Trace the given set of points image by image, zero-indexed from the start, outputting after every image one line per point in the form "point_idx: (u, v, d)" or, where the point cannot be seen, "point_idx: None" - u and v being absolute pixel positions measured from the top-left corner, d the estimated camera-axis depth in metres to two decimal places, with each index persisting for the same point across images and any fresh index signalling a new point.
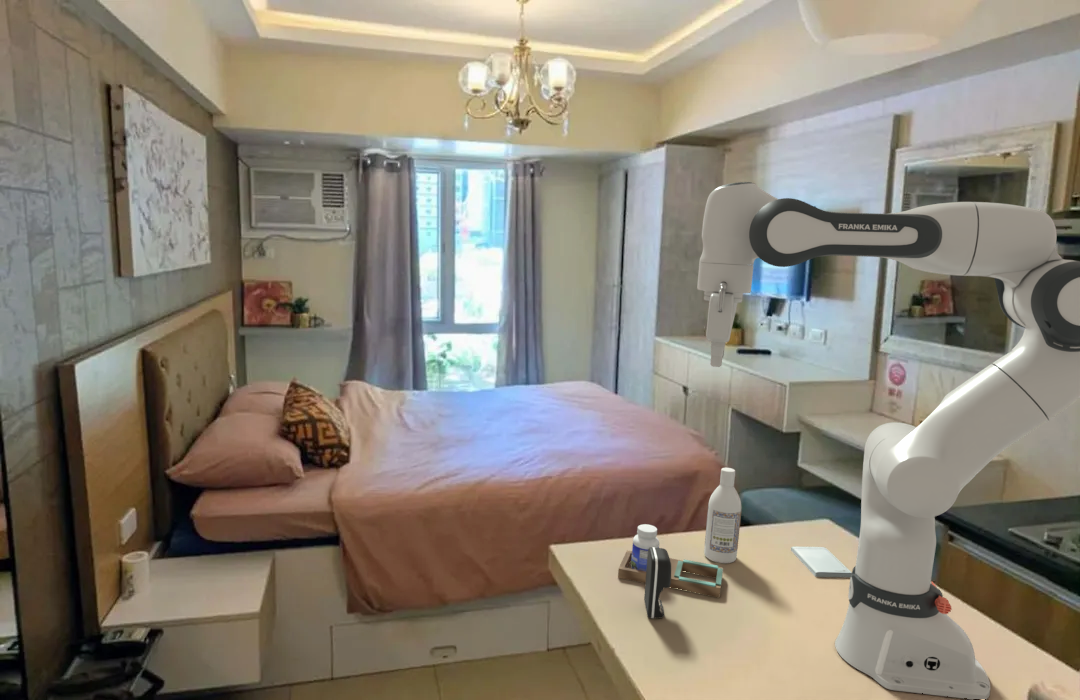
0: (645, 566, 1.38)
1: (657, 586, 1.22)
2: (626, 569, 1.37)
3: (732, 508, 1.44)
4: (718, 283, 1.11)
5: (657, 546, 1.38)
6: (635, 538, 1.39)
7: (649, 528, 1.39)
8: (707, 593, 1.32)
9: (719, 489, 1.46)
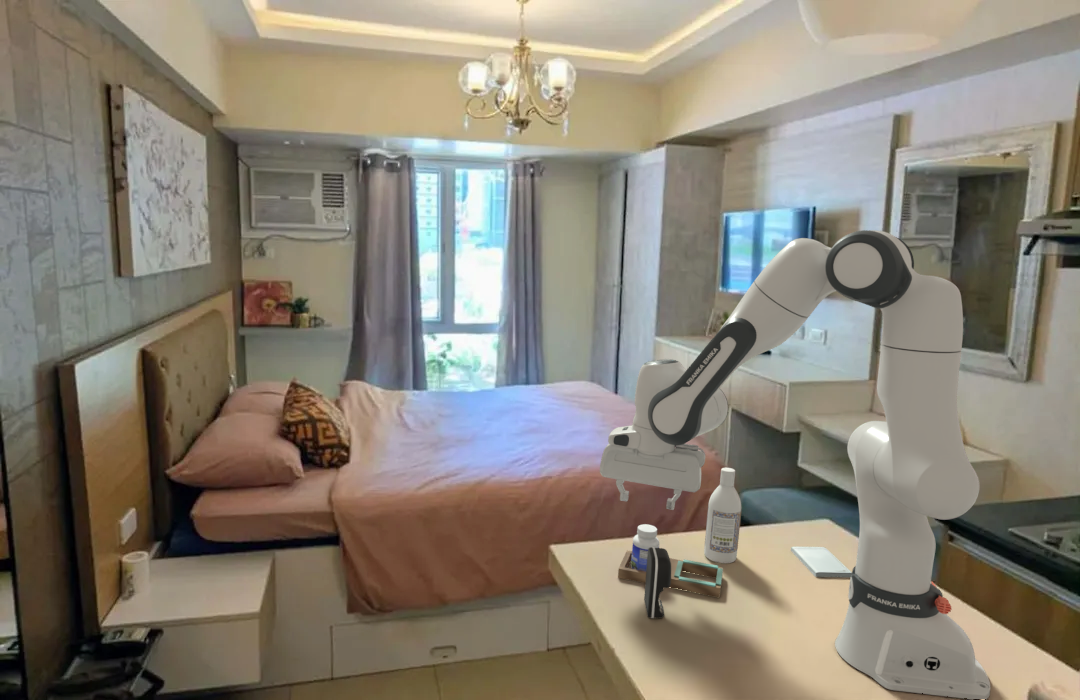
0: (645, 566, 1.38)
1: (657, 586, 1.22)
2: (626, 569, 1.37)
3: (732, 508, 1.44)
4: None
5: (657, 546, 1.38)
6: (635, 538, 1.39)
7: (649, 528, 1.39)
8: (707, 593, 1.32)
9: (719, 489, 1.46)
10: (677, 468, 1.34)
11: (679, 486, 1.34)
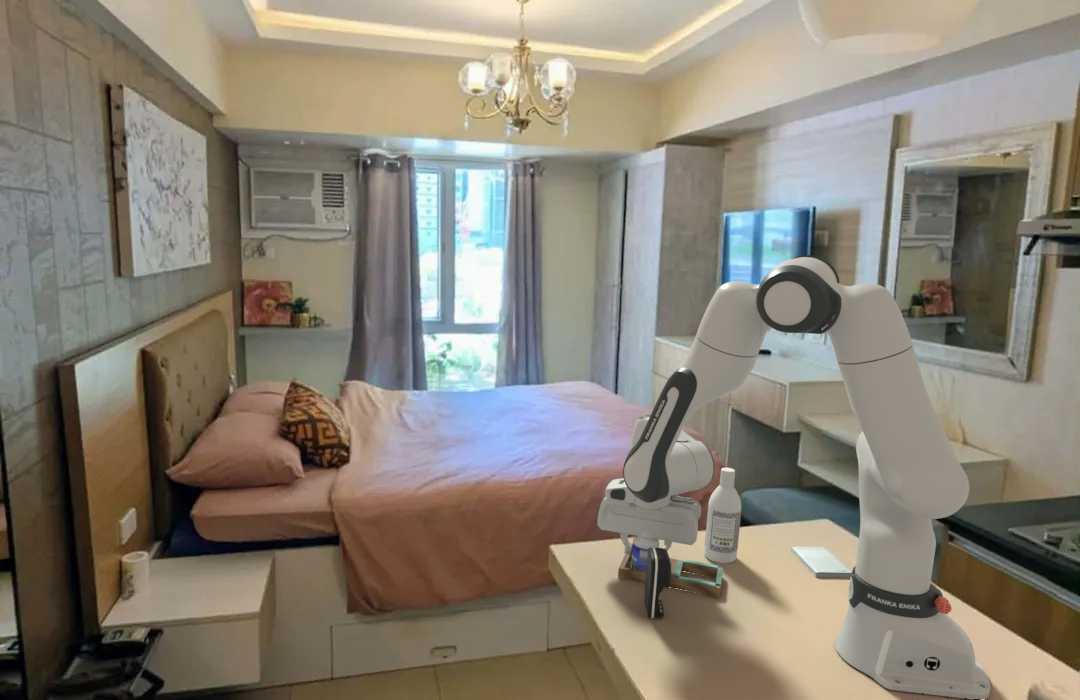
0: (645, 566, 1.38)
1: (657, 586, 1.22)
2: (626, 569, 1.37)
3: (732, 508, 1.44)
4: (670, 497, 1.36)
5: (657, 546, 1.38)
6: (635, 538, 1.39)
7: None
8: (707, 593, 1.32)
9: (719, 489, 1.46)
10: (673, 521, 1.36)
11: (676, 539, 1.36)
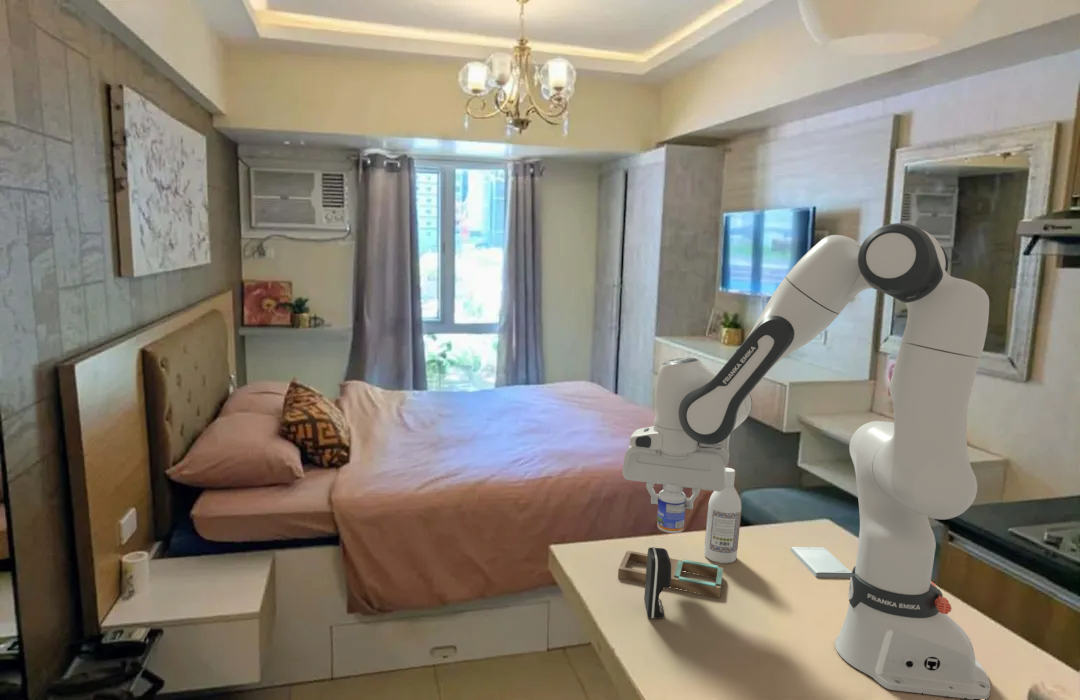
0: (672, 521, 1.34)
1: (657, 586, 1.22)
2: (626, 569, 1.37)
3: (732, 508, 1.44)
4: (697, 443, 1.32)
5: (684, 500, 1.35)
6: (661, 493, 1.36)
7: None
8: (707, 593, 1.32)
9: None
10: (701, 467, 1.32)
11: (704, 486, 1.32)
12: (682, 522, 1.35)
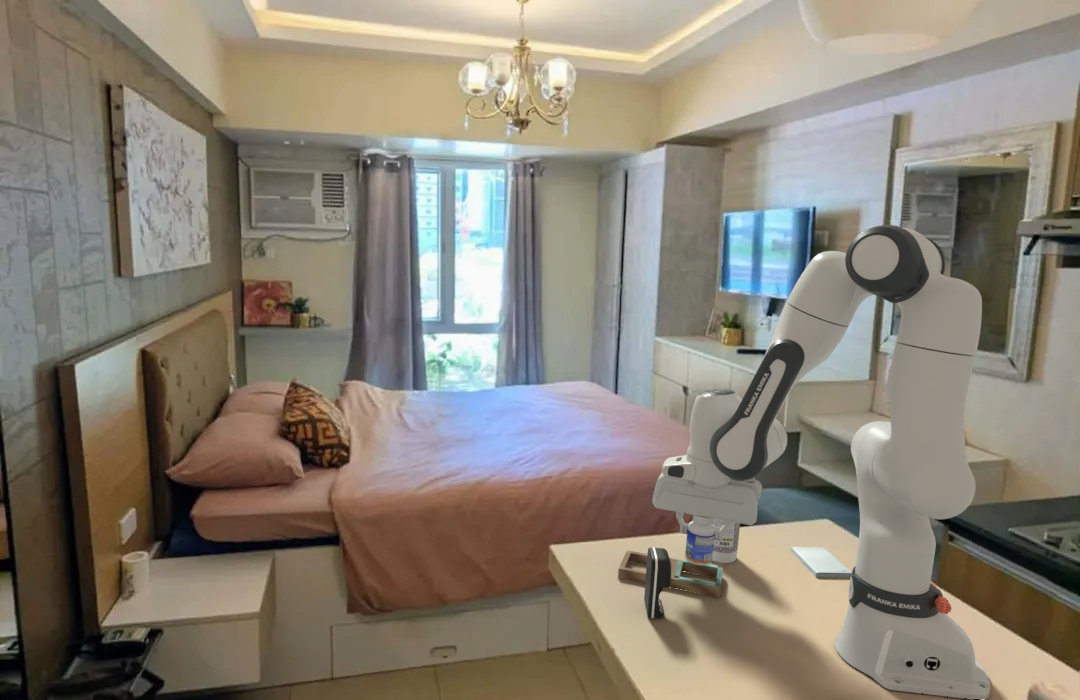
0: (701, 553, 1.34)
1: (657, 585, 1.22)
2: (626, 569, 1.37)
3: None
4: None
5: (713, 533, 1.34)
6: (690, 524, 1.35)
7: None
8: (707, 593, 1.32)
9: None
10: (733, 500, 1.32)
11: (735, 519, 1.32)
12: (711, 555, 1.35)
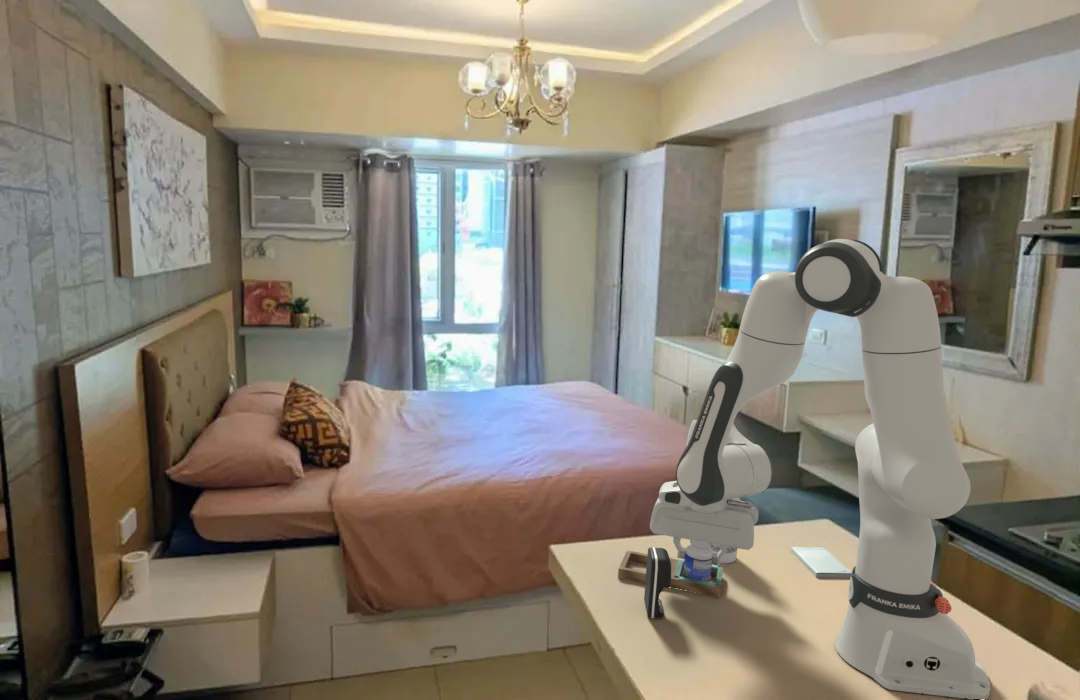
0: (699, 577, 1.34)
1: (657, 586, 1.22)
2: (626, 569, 1.37)
3: None
4: (726, 501, 1.32)
5: (711, 556, 1.34)
6: (688, 548, 1.36)
7: None
8: (707, 593, 1.32)
9: None
10: (730, 525, 1.32)
11: (732, 544, 1.32)
12: (708, 578, 1.35)
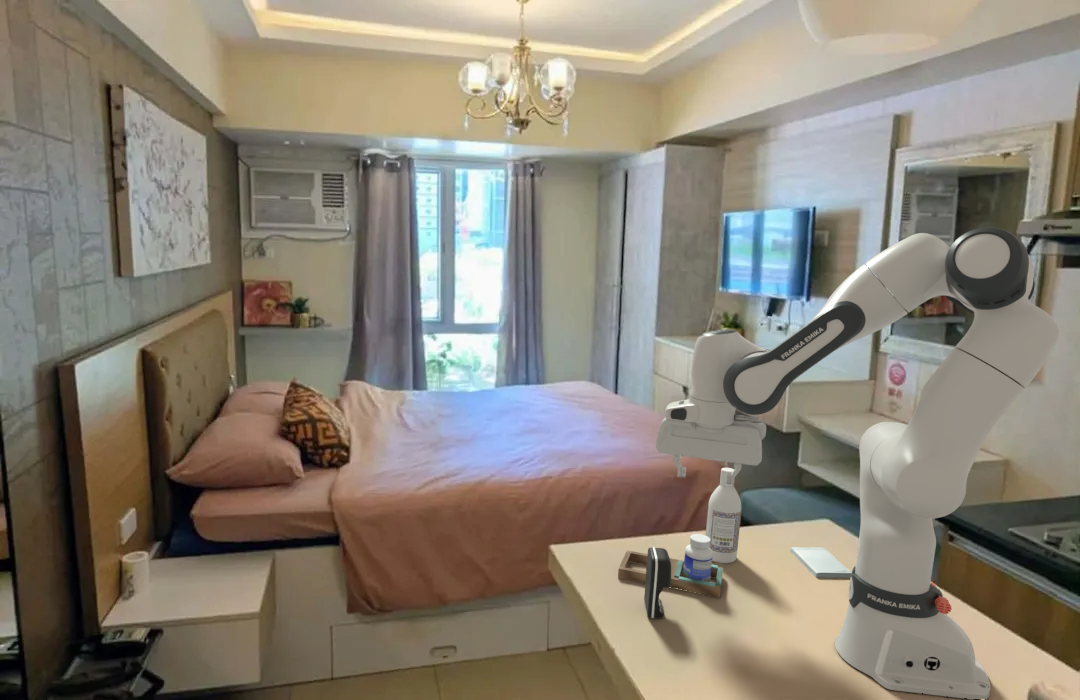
0: (698, 577, 1.34)
1: (657, 586, 1.22)
2: (626, 569, 1.37)
3: (732, 508, 1.44)
4: (733, 416, 1.30)
5: (711, 556, 1.34)
6: (688, 548, 1.36)
7: (702, 538, 1.35)
8: (707, 593, 1.32)
9: (719, 489, 1.46)
10: (737, 441, 1.30)
11: (740, 460, 1.30)
12: (708, 578, 1.35)
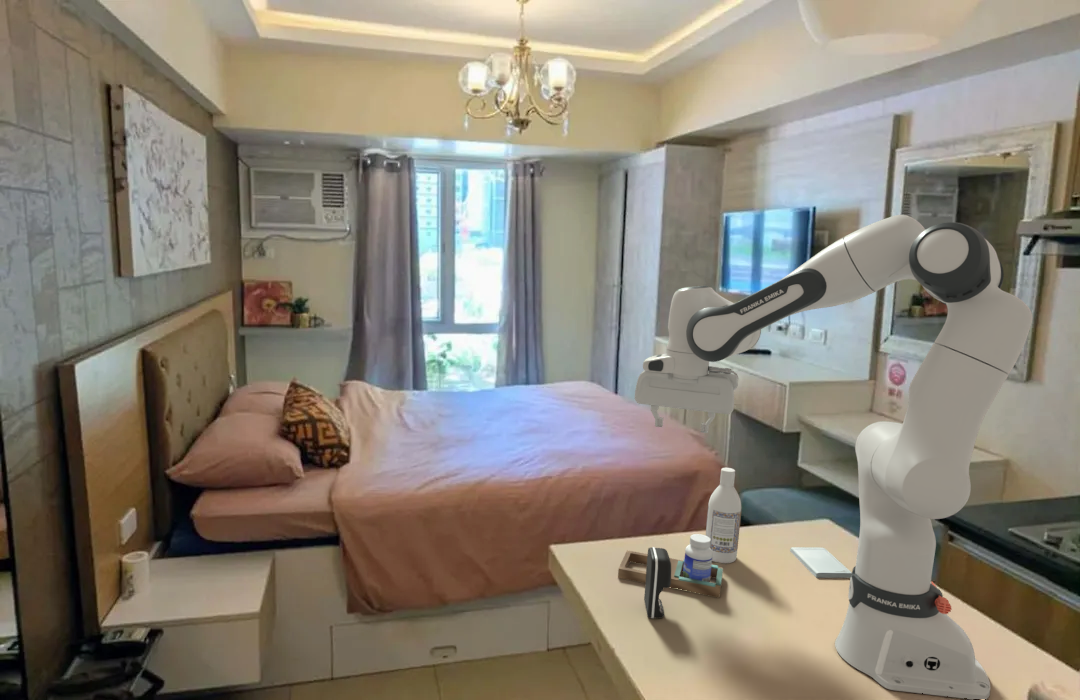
0: (698, 577, 1.34)
1: (657, 586, 1.22)
2: (626, 569, 1.37)
3: (732, 508, 1.44)
4: (707, 368, 1.38)
5: (711, 556, 1.34)
6: (688, 548, 1.36)
7: (702, 538, 1.35)
8: (707, 593, 1.32)
9: (719, 489, 1.46)
10: (710, 391, 1.38)
11: (713, 409, 1.38)
12: (708, 578, 1.35)
